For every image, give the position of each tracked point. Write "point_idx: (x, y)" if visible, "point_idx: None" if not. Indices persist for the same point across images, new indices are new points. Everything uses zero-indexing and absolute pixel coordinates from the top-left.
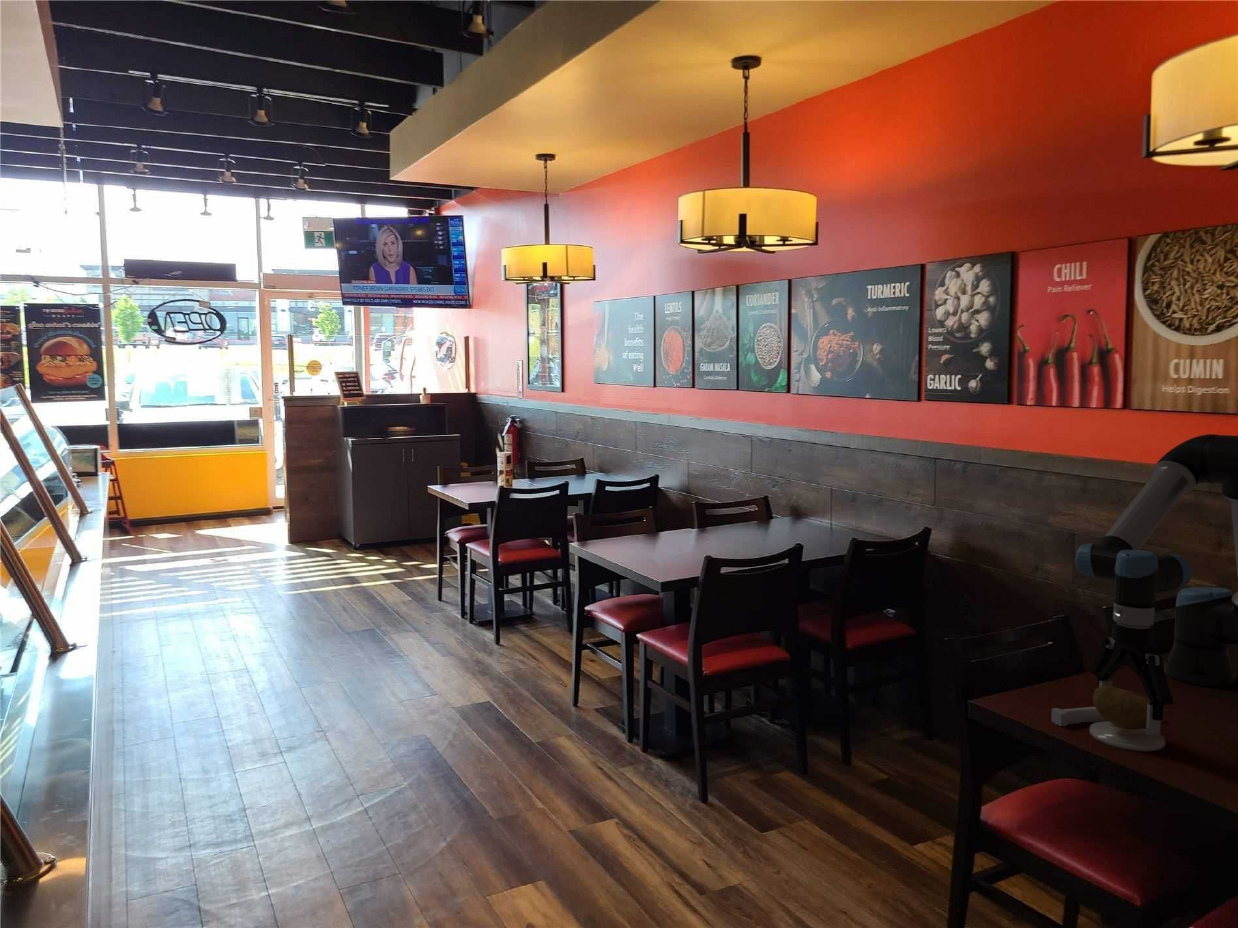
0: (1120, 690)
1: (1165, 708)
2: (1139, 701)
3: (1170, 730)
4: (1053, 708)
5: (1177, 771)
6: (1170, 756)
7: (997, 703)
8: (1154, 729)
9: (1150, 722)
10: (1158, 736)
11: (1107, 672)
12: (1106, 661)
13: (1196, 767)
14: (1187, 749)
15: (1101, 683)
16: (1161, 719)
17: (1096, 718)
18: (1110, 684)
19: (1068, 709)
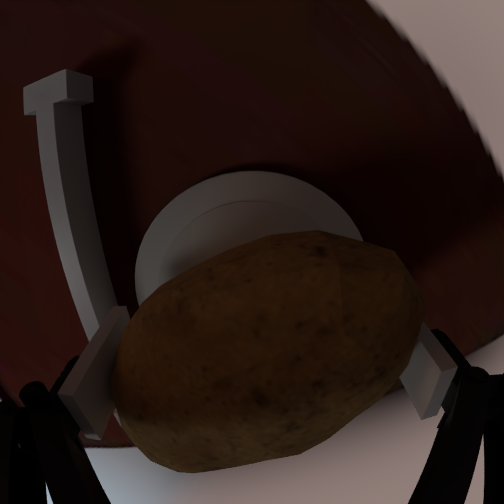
0: (237, 452)
1: (406, 277)
2: (357, 413)
3: (208, 78)
4: (119, 423)
5: (465, 296)
6: (407, 251)
7: None
8: None
9: None
10: (293, 196)
11: (99, 485)
12: (21, 489)
13: (470, 232)
14: (379, 151)
15: (101, 432)
16: (438, 332)
17: (111, 302)
18: (85, 392)
19: None
